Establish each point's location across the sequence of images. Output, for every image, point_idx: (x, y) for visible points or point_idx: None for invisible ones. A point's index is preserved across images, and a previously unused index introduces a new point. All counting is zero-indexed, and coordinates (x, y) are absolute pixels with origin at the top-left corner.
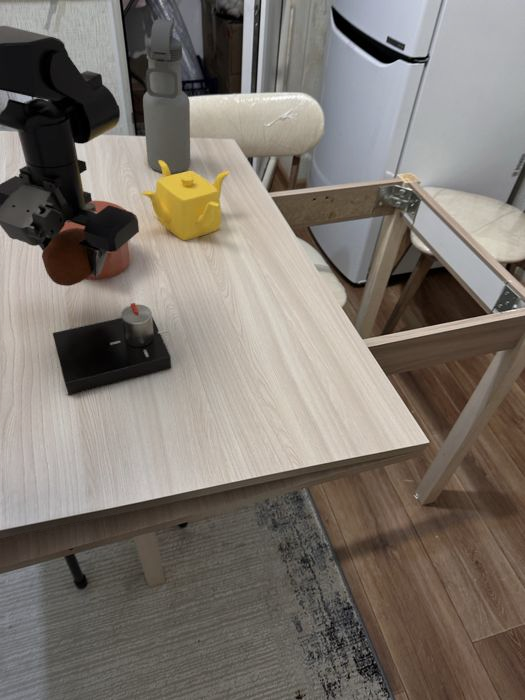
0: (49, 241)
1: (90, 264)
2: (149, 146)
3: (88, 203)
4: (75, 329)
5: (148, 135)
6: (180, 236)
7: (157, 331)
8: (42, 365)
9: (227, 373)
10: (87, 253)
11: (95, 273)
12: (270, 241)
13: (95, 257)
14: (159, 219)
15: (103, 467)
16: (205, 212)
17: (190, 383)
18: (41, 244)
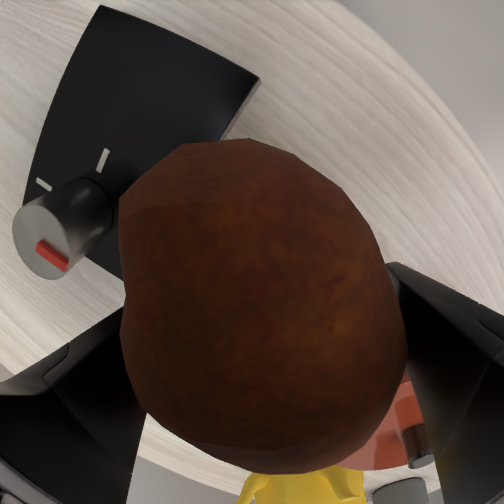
0: (422, 345)
1: (116, 324)
2: (420, 501)
3: (427, 463)
4: (217, 126)
5: None
6: None
7: None
8: (233, 20)
9: (2, 246)
10: (68, 370)
11: None
12: (185, 465)
13: (42, 359)
14: None
15: (5, 5)
16: (248, 494)
17: (10, 194)
18: (446, 304)
